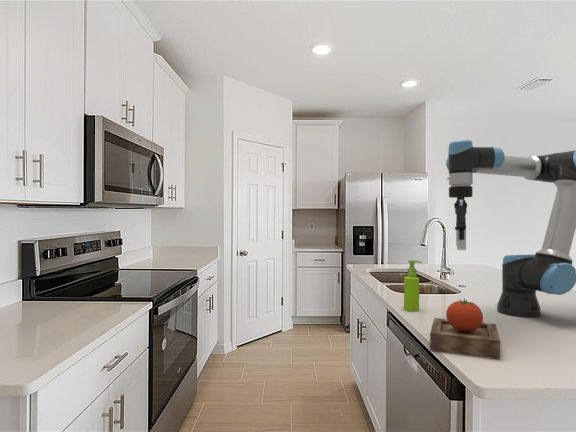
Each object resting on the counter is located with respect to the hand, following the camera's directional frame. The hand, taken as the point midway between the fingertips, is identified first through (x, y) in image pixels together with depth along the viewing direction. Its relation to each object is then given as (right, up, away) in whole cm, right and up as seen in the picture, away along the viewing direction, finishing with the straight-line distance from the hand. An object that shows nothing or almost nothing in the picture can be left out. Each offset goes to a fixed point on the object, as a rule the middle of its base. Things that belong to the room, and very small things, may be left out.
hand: (460, 247), depth 141 cm
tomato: (-7, -24, -18) cm, 31 cm away
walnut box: (-7, -28, -18) cm, 34 cm away
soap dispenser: (-9, -27, +25) cm, 38 cm away
